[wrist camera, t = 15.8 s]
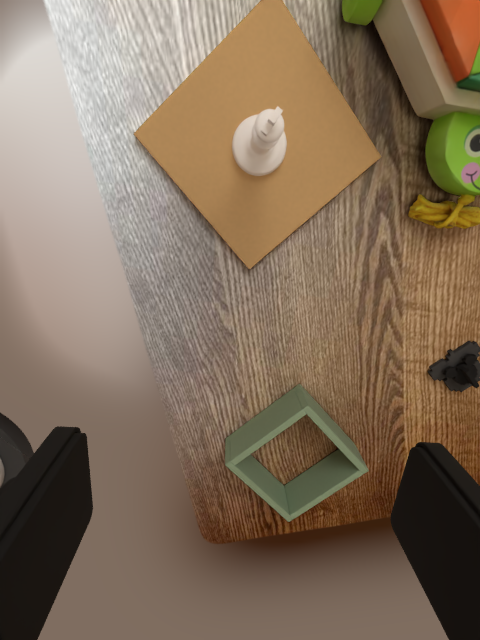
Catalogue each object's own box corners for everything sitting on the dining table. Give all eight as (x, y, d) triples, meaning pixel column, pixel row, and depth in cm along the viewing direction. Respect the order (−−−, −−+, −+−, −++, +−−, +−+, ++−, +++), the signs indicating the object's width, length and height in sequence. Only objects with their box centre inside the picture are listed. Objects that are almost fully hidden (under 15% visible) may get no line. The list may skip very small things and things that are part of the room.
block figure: (458, 409, 38) (436, 376, 36) (446, 398, 40) (424, 366, 38) (507, 379, 37) (485, 344, 35) (491, 369, 39) (470, 335, 37)
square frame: (225, 438, 41) (224, 465, 36) (299, 383, 39) (308, 405, 34) (282, 491, 44) (288, 522, 40) (354, 443, 42) (369, 470, 37)
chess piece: (297, 139, 30) (329, 108, 20) (264, 187, 31) (279, 178, 21) (253, 102, 29) (266, 50, 19) (221, 152, 30) (217, 127, 20)
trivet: (134, 135, 30) (133, 133, 29) (272, -9, 27) (273, -14, 26) (248, 268, 34) (249, 269, 33) (378, 157, 31) (381, 156, 30)
